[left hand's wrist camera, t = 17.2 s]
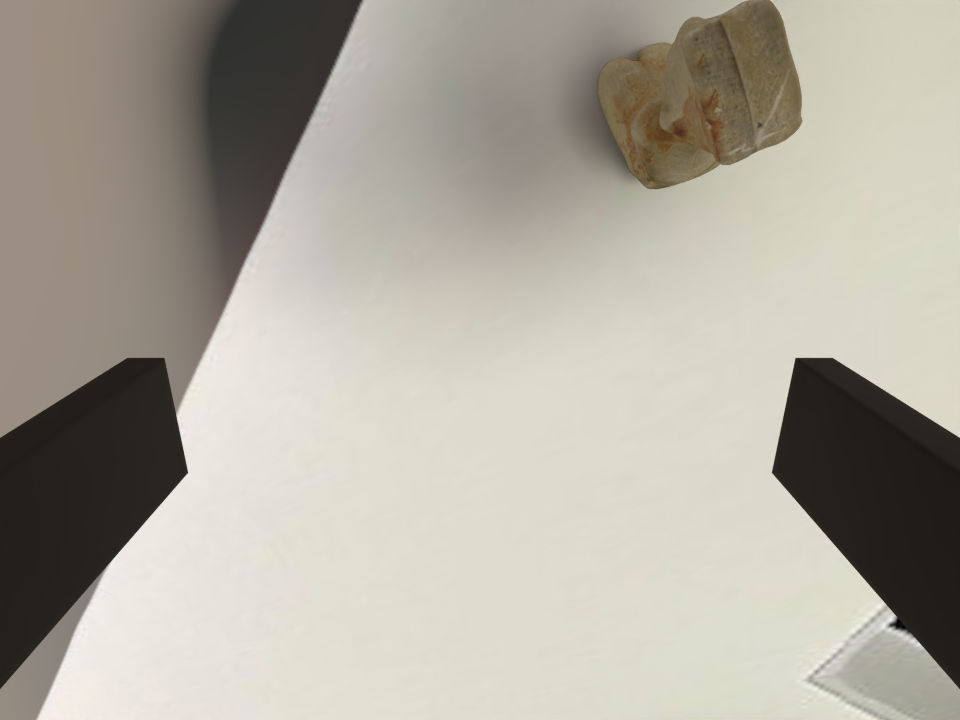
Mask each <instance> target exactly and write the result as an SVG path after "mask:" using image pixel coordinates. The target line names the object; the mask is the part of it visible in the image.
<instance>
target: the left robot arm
mask: <svg viewBox="0 0 960 720" xmlns="http://www.w3.org/2000/svg"><path fill="white" fill-rule="evenodd" d="M187 473H188V470H187V465H186V460H185V456H184V451H183V446H182V441H181V436H180V431H179V427H178V422H177V417H176V412H175V407H174V402H173V398H172V393H171V388H170V383H169V378H168V373H167V368H166V364H165V359H164V358H127V359H125V360H124V361H122V362H120V363H119V364H117V365H116V366H114V367H112V368H111V369H109V370H108V371H106V372H104V373H103V374H101V375H100V376H98V377H96V378H95V379H93V380H92V381H90V382H89V383H87V384H85V385H84V386H82V387H81V388H79V389H77V390H76V391H74V392H73V393H71V394H69V395H68V396H66V397H65V398H63V399H61V400H60V401H58V402H57V403H55V404H54V405H52V406H50V407H49V408H47V409H46V410H44V411H42V412H41V413H39V414H38V415H36V416H34V417H33V418H31V419H30V420H28V421H26V422H25V423H23V424H22V425H20V426H19V427H17V428H15V429H14V430H12V431H10V432H9V433H7V434H6V435H4V436H3V437H1V438H0V689H1V687H2V686H3V685H4V684H5V683H6V682H7V680H8V679H9V678H10V677H11V676H12V675H13V674H14V672H15V671H16V670H17V669H18V668H19V667H20V666H21V664H22V663H23V662H24V661H25V660H26V659H27V657H28V656H29V655H30V654H31V653H32V652H33V651H34V649H35V648H36V647H37V646H38V645H39V644H40V642H41V641H42V640H43V639H44V638H45V637H46V636H47V634H48V633H49V632H50V631H51V630H52V629H53V628H54V626H55V625H56V624H57V623H58V622H59V621H60V620H61V618H62V617H63V616H64V615H65V614H66V613H67V611H68V610H69V609H70V608H71V607H72V606H73V605H74V603H75V602H76V601H77V600H78V599H79V598H80V597H81V595H82V594H83V593H84V592H85V591H86V590H87V588H88V587H89V586H90V585H91V584H92V583H93V581H94V580H95V579H96V578H97V577H98V576H99V575H100V573H101V572H102V571H103V570H104V569H105V568H106V567H107V565H108V564H109V563H110V562H111V561H112V560H113V559H114V557H115V556H116V555H117V554H118V553H119V552H120V550H121V549H122V548H123V547H124V546H125V545H126V544H127V542H128V541H129V540H130V539H131V538H132V537H133V535H134V534H135V533H136V532H137V531H138V530H139V529H140V527H141V526H142V525H143V524H144V523H145V522H146V521H147V519H148V518H149V517H150V516H151V515H152V514H153V512H154V511H155V510H156V509H157V508H158V507H159V506H160V504H161V503H162V502H163V501H164V500H165V499H166V497H167V496H168V495H169V494H170V493H171V492H172V491H173V489H174V488H175V487H176V486H177V485H178V484H179V483H180V481H181V480H182V479H183V478H184V477H185V476H186V474H187ZM772 473H773V474H774V476H775V477H776V478H777V479H778V480H779V481H780V483H781V484H782V485H783V486H784V487H785V488H786V489H787V491H788V492H789V493H790V494H791V495H792V496H793V497H794V499H795V500H796V501H797V502H798V503H799V504H800V506H801V507H802V508H803V509H804V510H805V511H806V512H807V514H808V515H809V516H810V517H811V518H812V519H813V521H814V522H815V523H816V524H817V525H818V526H819V527H820V529H821V530H822V531H823V532H824V533H825V534H826V535H827V537H828V538H829V539H830V540H831V541H832V542H833V544H834V545H835V546H836V547H837V548H838V549H839V550H840V552H841V553H842V554H843V555H844V556H845V557H846V559H847V560H848V561H849V562H850V563H851V564H852V565H853V567H854V568H855V569H856V570H857V571H858V572H859V573H860V575H861V576H862V577H863V578H864V579H865V580H866V582H867V583H868V584H869V585H870V586H871V587H872V588H873V590H874V591H875V592H876V593H877V594H878V595H879V597H880V598H881V599H882V600H883V601H884V602H885V603H886V605H887V606H888V607H889V608H890V609H891V610H892V611H893V613H894V614H895V615H896V616H897V617H898V618H899V620H900V621H901V622H902V623H903V624H904V625H905V626H906V628H907V629H908V630H909V631H910V632H911V633H912V634H913V636H914V637H915V638H916V639H917V640H918V641H919V643H920V644H921V645H922V646H923V647H924V648H925V649H926V651H927V652H928V653H929V654H930V655H931V656H932V658H933V659H934V660H935V661H936V662H937V663H938V664H939V666H940V667H941V668H942V669H943V670H944V671H945V672H946V674H947V675H948V676H949V677H950V678H951V679H952V681H953V682H954V683H955V684H956V685H957V686H958V687H959V689H960V438H959V437H957V436H956V435H954V434H953V433H951V432H950V431H948V430H946V429H945V428H943V427H942V426H940V425H938V424H937V423H935V422H934V421H932V420H930V419H929V418H927V417H926V416H924V415H922V414H921V413H919V412H918V411H916V410H915V409H913V408H911V407H910V406H908V405H907V404H905V403H903V402H902V401H900V400H899V399H897V398H895V397H894V396H892V395H891V394H889V393H887V392H886V391H884V390H883V389H881V388H879V387H878V386H876V385H875V384H873V383H872V382H870V381H868V380H867V379H865V378H864V377H862V376H860V375H859V374H857V373H856V372H854V371H852V370H851V369H849V368H848V367H846V366H844V365H843V364H841V363H840V362H838V361H836V360H835V359H833V358H796V359H795V364H794V368H793V373H792V378H791V383H790V388H789V393H788V397H787V402H786V407H785V412H784V417H783V422H782V427H781V431H780V436H779V441H778V446H777V451H776V456H775V460H774V465H773V470H772Z"/></svg>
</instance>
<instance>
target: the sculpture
mask: <svg viewBox="0 0 960 720" xmlns="http://www.w3.org/2000/svg"><path fill="white" fill-rule="evenodd" d="M598 94H599V100H600V103H601V106H602V110H603V113H604V115H605V118H606V120H607V123H608V125H609V127H610V129H611V132H612V134H613V136H614V138H615V140H616V142H617V144H618V146H619V148H620V150H621V152H622V154H623V156H624V158H625V160H626V163H627V165H628V168H629V169H630V171H631V173H632V174H633V175H635V176H636V177H637V179H638V180H639V181H640V182H641V183H642V184H643V185H644V186H645V187H646V188H648V189H660V188H665V187H669V186H673V185H676V184H680V183H683V182H685V181H688V180H691V179H694V178H696V177H699V176H701V175H703V174H705V173H707V172H709V171H711V170H713V169H714V168H716V167H717V166H719V165H720V164H721V165H731V164H733V163H736V162H738V161H740V160H742V159H744V158H747V157H748V156H750V155H751V154H753V153H755V152H757V151H760V150H762V149H764V148H767V147H770V146H773V145H776V144H779V143H780V142H782V141H784V140H786V139H788V138H789V137H790V136H791V135H793V134H794V133H795V132H796V131H797V130H798V128H799V127H800V125H801V123H802V118H801V107H802V96H801V89H800V83H799V79H798V75H797V71H796V68H795V65H794V61H793V58H792V55H791V52H790V48H789V44H788V40H787V36H786V31H785V27H784V23H783V20H782V18H781V15H780V13H779V11H778V10H777V8H776V7H775V6H774V4H773V3H772V2H771V1H770V0H749V1H746V2H742V3H740V4H739V5H737V6H736V7H734V8H733V9H731V10H729V11H727V12H726V13H724V14H722V15H719V16H716V17H712V18H709V19H703V18H699V17H692V18H690V19H688V20H687V21H685V23H684V24H683V25H682V26H681V28H680V30H679V32H678V34H677V37H676V39H675V41H674V43H673V45H671V44H669V43H657V44H653V45H650V46H647V47H645V48H644V49H643V50H641V51H640V52H639V53H638V55H637V61H632V60H629V59H627V58H625V57H619V58H617V59H614V60H612V61H610V62H609V63H607V64H606V65H605V67H604V68H603V69H602V71H601V72H600V75H599V78H598Z"/></svg>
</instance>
